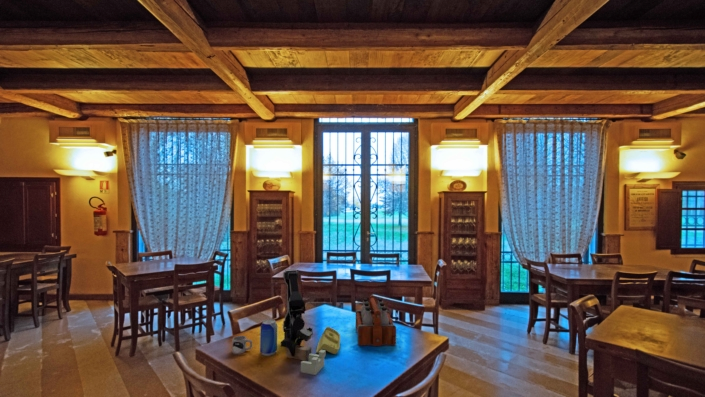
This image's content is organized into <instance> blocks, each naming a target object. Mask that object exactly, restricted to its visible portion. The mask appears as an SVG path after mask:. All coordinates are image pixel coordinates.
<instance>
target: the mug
mask: <svg viewBox="0 0 705 397" xmlns="http://www.w3.org/2000/svg"><path fill="white" fill-rule="evenodd" d="M231 341H232V344H231V345H232V346H231V351H232V354H233V355H241V354H243V353H245V352H246V351H248V350H251V349H252V348H253V341H252V340H251V339H248V338H247V336H245V335H237V336H234V337H233V338H232V340H231ZM248 342H249V343H250V344H249V346H247V343H248Z"/></svg>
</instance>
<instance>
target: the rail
mask: <svg viewBox="0 0 705 397" xmlns="http://www.w3.org/2000/svg"><path fill="white" fill-rule="evenodd" d="M285 351H286V352H285V354H286V356H285V357H286V358H290V359H294V360H295V359H296V360H299V361H300V360H301V361H307V362H309V354H310V353H311V354H312V346H311V347H310V346H307V345H306V346H305V345H301V346H300V345H296V347H295V355H294V357H293V356H292V355H291V353H290V351H289V349H288V348H287V347H285Z"/></svg>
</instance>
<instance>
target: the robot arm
mask: <svg viewBox="0 0 705 397" xmlns="http://www.w3.org/2000/svg"><path fill="white" fill-rule="evenodd" d="M282 275H283V279H284V280H283V281H284V283H285V284H286V295H287V296H286V297H287V298H286V299H287V301H286V302H287V303H286V304H287V307H286V310H287V311H286V313H285V316H284V320H283V323H282V331H283V333H284V335H283V336H284V338H283V339H282V340H281V341H280V347H283V348H286V347H287V348H288V349H289V351H290V353H291V355H292V356H293V357H294V355H295V347H296V345H300V346H302V342H303V341H304V342H308V341H309V340H310V339H311V338H312V336H313V335H314V333H313V327H311V326H309V327H308V328H305V325H306V324H305V321H304V318H303V315H304V314H306V310H307V309H306V302H305V300H304V299H303V296H302V294H301V293H300V292H299V282H298V279H299V278H300V272H299V271H297V269H285V271H283V274H282Z"/></svg>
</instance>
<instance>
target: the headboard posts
mask: <svg viewBox="0 0 705 397" xmlns="http://www.w3.org/2000/svg"><path fill="white" fill-rule="evenodd" d="M326 355H327V351H326V350H324V349H322V350H320V351H319V353H316V354H314V353H312V352H311V353H310V354H309V360H308V361H305V360H301V361H300V373H303V374H308V375H311V376H312V375H313V376H316V375H317V374H318V373H319V372H320V371H321V369H322V368H323V367H325V357H326Z"/></svg>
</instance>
